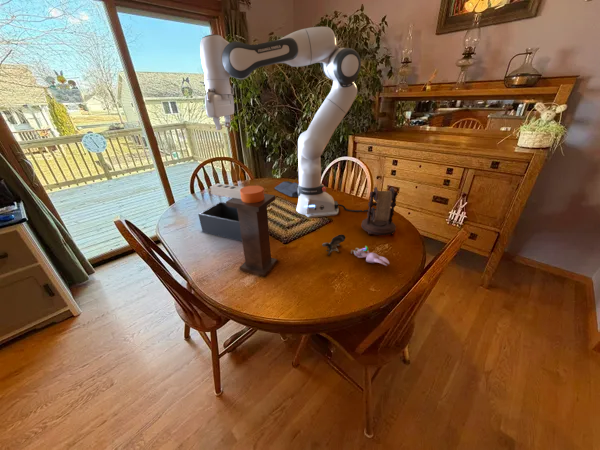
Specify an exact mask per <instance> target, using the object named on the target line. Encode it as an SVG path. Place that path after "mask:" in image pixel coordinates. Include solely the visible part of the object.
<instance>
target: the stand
mask: <svg viewBox="0 0 600 450" xmlns="http://www.w3.org/2000/svg"><path fill="white" fill-rule="evenodd" d="M264 197H265V198H264V200H262V201H260V202H257V203H245V202H243V201H242V200H241V199H237V198H229V199H228V200H226V201H225V203H226V205H227V206H228V207H234V208H237V210H238V217H239V224H240V230H241V237H242V241H241V242H242V249H243V256H244V262H243V263H242V264H241V265H240V266H239V271H243V272H247V273H250V274H254V275H256V276H260V277H263V278H264V277H265V278H266V276H268V274H269V273H270V271H271V270H272V269H273V268H274V266H275V265H276V264H277V263H278V258H274V257H272V251H271V239H270V226H269V217H268V206H270V205H271V204H272V203H273V202H274V201H276V195H275V194H271V193H270V194H269V193H264Z"/></svg>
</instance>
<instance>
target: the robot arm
mask: <svg viewBox="0 0 600 450" xmlns="http://www.w3.org/2000/svg"><path fill="white" fill-rule="evenodd" d="M336 39H337V38H336V35H335V32H334V30H333V29H332V28H330V27H329V26H311V27H307V28H306V27H305V28H302V29H298V30H296V31H293V32H291V33H289V34H286V35H285V36H283V37H281V38H279V39H275V40H272V41H266V42H261V43H256V44H248V43H244V42H241V41H231V42H229V41H227V40H226V39H225V38H224V37H223V36H222V35H220V34H215V33H214V34H208V35H205V36H203V37H202V38H201V40H200V41H199V42H200V43H199V50H200V51H199V53H200V59H201V67H202V69H203V72H204V78H203V79H204V85H205V91H206V93H205V96H204V105H205V113H206V116H207V118H211V119H213V120H212V121H213V123H214V126H215V129H216V131H221V130H222V129H223V127H222V124H221V121H220V120H221V117H224V121H225V122H224V127H225V128H230V127H231V115H234V114H235V99H234V95H235V90H234V88H233V87H232V86H231V84H230V78H235V79H237V80H246V79H247V78H249V77H250V76H251V74H252V73H253V71H255V70H257V69H259V68H263V67H267V66H271V65H276V64H286V65H288V66H290V67H292V68H293V67H298V68H300V67H307V66H310V65H313V64H318V63H319V65H320V67H321V70H322V73H323V74H324V76H325V77H326V78H327V79H329V80H330V81H332V86H331V89H330V91H329V93H328V94H327V95H326V97H325V99H324V101H323V102H322V103H321V105H320V107H319V108H318V110H317V111H316V113H315V114H314V116H313V118H312V120H311V122H310V124H309V126H307V130H304V131H303V132H301V133H300V134H299V136H298V139H297V159H298V160H297V161H298V162H297V163H298V195H299V196H298V199H297V205H296V208H295V212H297V213H298V214H299V215H303V216H305V217H307V218H309V219H310V218H318V217H319V218H320V217H330V216H338V214H339V212H340V209H339V207H341V208H343V209H344V210H345V211H347V212H353V213H365V212H366V213H368V212H369V211H368V209H356V210H355V209H348V208H347V207H346V206H345V205H343V204H340V203H338V200H334V197H333V196H332V195H331V194H329V193H328V192H327V188H326V186H325V185H324V184H323V183H322V161H321V160H322V158H321V156H322V155H323V153H324V150H325V148H326V147H327V145H328V144H329V143H330V140H331V138H332V137H333V134H334V132H335V131H336V129H338V126H339V125H340V124H341V122H342V121H343V119H344V118H345V117H346V115H347V114H348V112H349V111H350V109H351V107H352V105H353V103H354V101H355V99H356V98H357V95H358V87H357V85H356V83H357V81H358V76H359V74H360V71H361V66H362V60H361V56H360V54H359V53H358V52H357V50H355V49H354V48H351V47H339V46H338V45H337V40H336ZM374 209H375V211H376V208H374ZM362 210H364V211H362ZM390 210H391V209H390Z"/></svg>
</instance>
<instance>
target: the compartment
mask: <svg viewBox="0 0 600 450" xmlns="http://www.w3.org/2000/svg"><path fill="white" fill-rule="evenodd" d="M197 215H198V219H199V224H200V227H201V231H202V233H206V234H208V235H209V234H210V235H214V236H217V237H221V238H225V239H226V238H227V239H230V240H235V241H239V242H242V237H241V230H240V224H239V217H238V210H237V208H234V207H228V206H227V205H226V202H225V201H224V202H223V201H219V202H217V203H215V204H214V205H212V206H211V207H208V208H207V209H205V210H203V211H201V212H198V214H197Z"/></svg>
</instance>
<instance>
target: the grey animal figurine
mask: <svg viewBox="0 0 600 450" xmlns="http://www.w3.org/2000/svg"><path fill="white" fill-rule="evenodd" d="M346 238H347V237H346V235H345V234H343V233H342V234H338V235H336V236H334V237H333V238H332V239H331V241H330V242H323V243H322V244H321V246H322V247H324V248H327V249H326V250H325V251H326V252H328V254H327V255H328V256H330V255H331V254H332V253H333V252H334V251H336V252H337V253H339V252H340V251H339V249H338V247H340V244H341V243H344V242H345V240H346ZM337 246H338V247H337Z"/></svg>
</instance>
